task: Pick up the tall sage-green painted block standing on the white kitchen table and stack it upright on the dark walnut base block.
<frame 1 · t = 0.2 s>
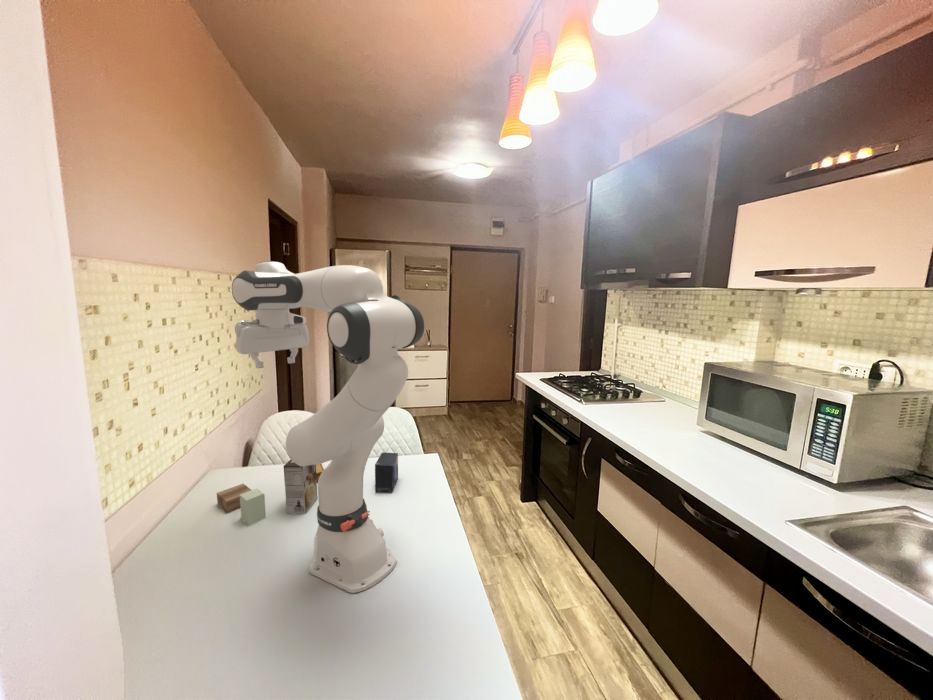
hand: (276, 365, 113), 47 cm above the table, fingers open, 8 cm apart
coffee box: (302, 506, 124), on the table
base block: (236, 503, 125), on the table
small box: (387, 486, 137), on the table
sage block: (253, 518, 117), on the table
carton: (310, 475, 145), on the table
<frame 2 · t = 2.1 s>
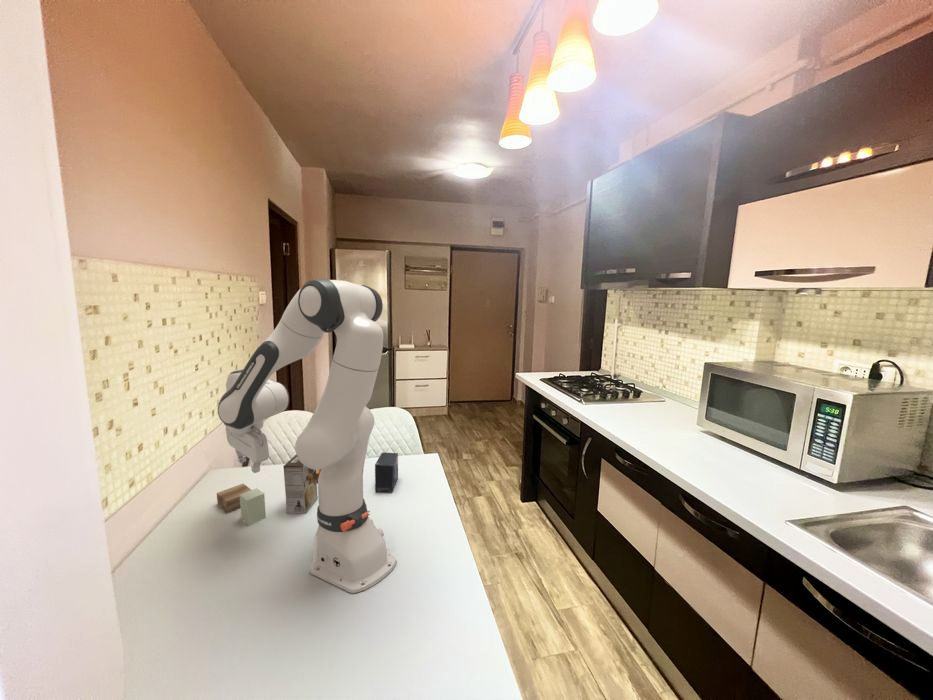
hand: (248, 466, 114), 17 cm above the table, fingers open, 8 cm apart
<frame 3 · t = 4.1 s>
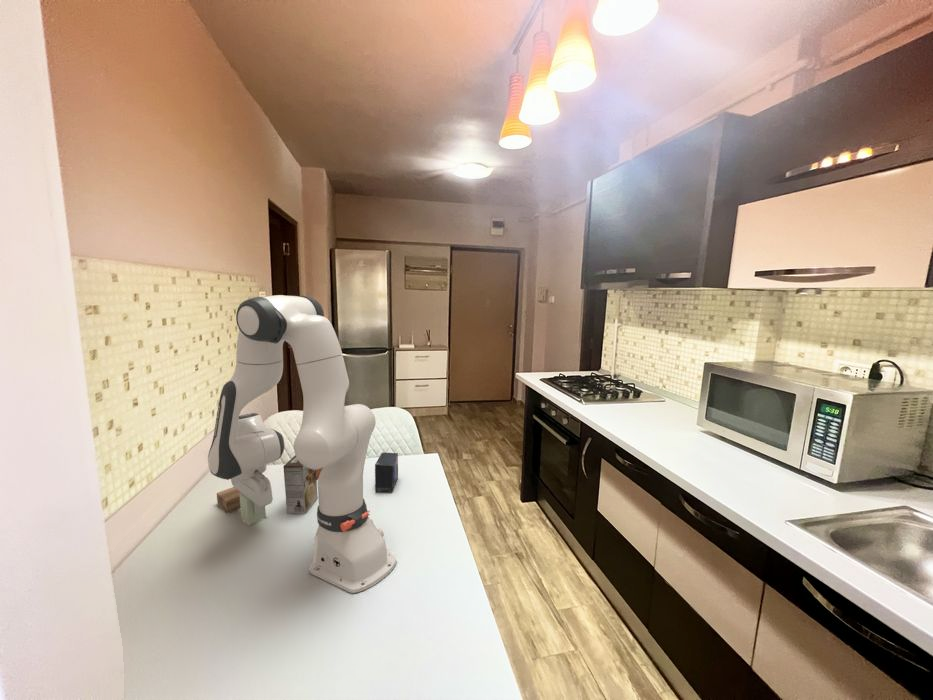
hand: (252, 508, 116), 3 cm above the table, fingers closed on sage block, 5 cm apart
sage block: (253, 518, 117), on the table, touching gripper
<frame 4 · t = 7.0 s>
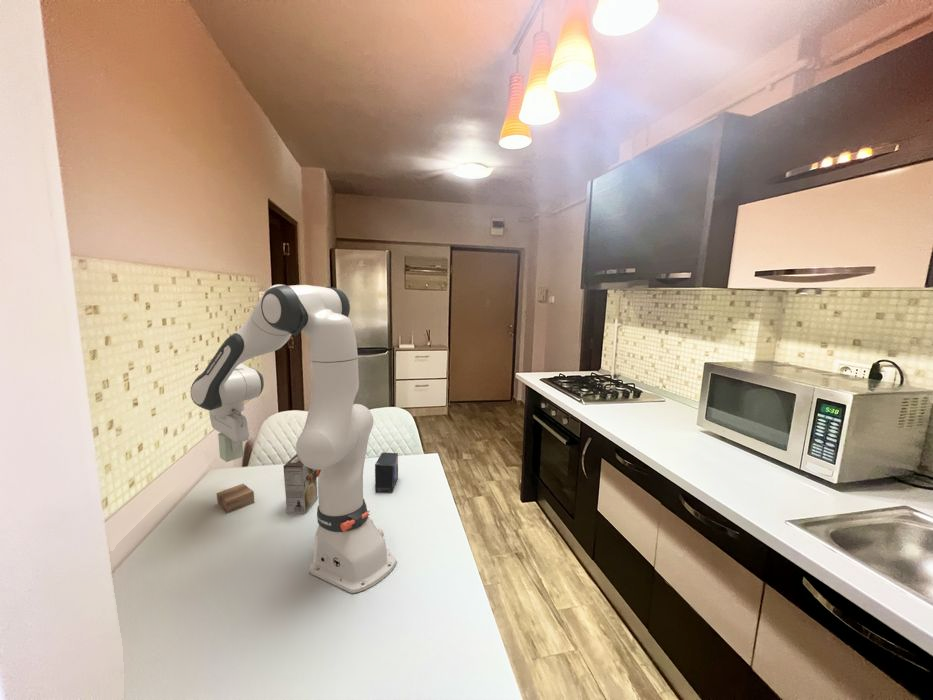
hand: (231, 448, 122), 19 cm above the table, fingers closed on sage block, 5 cm apart
sage block: (231, 457, 122), point 16 cm above the table, touching gripper
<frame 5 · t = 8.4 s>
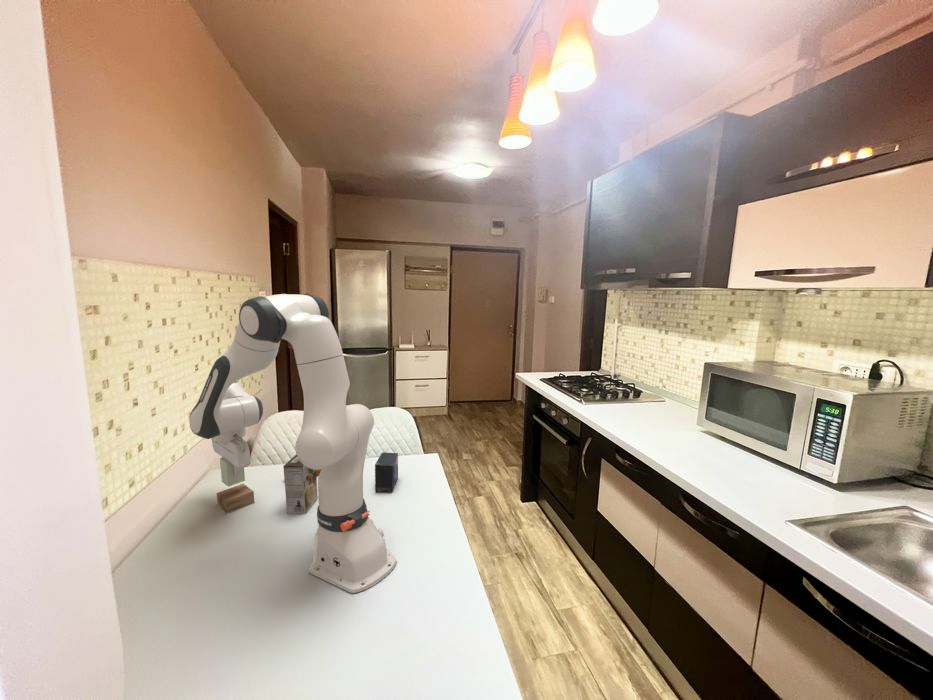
hand: (232, 472, 123), 11 cm above the table, fingers closed on sage block, 5 cm apart
sage block: (233, 481, 123), point 8 cm above the table, touching gripper
when the fingers open (8 cm above the table, at t = 9.8 s): sage block stays where it is, resting on base block.
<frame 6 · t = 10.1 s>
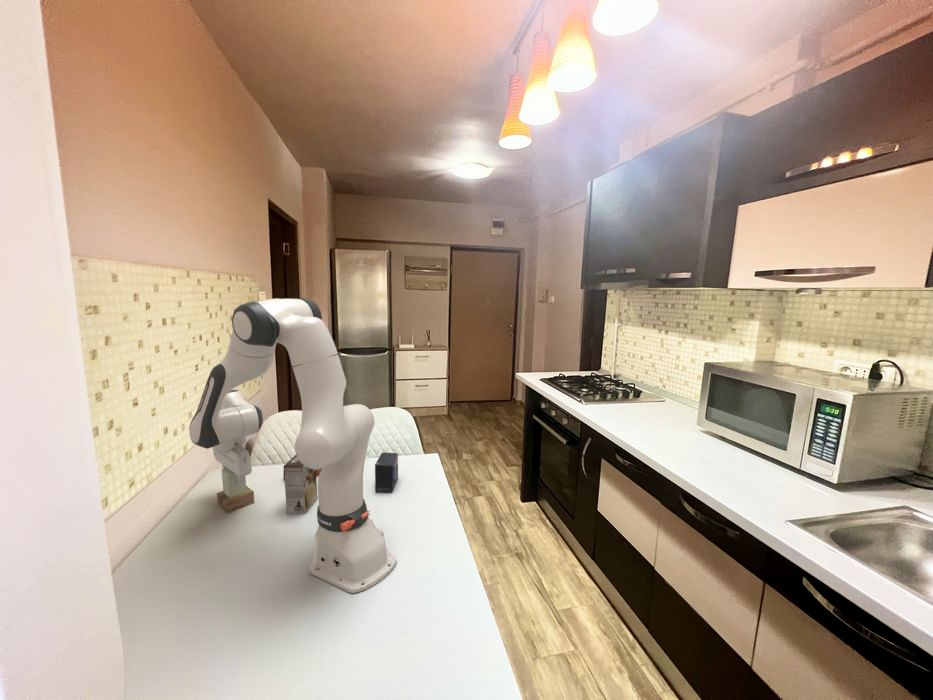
hand: (234, 480, 123), 8 cm above the table, fingers open, 8 cm apart
sage block: (235, 492, 124), point 4 cm above the table, touching base block
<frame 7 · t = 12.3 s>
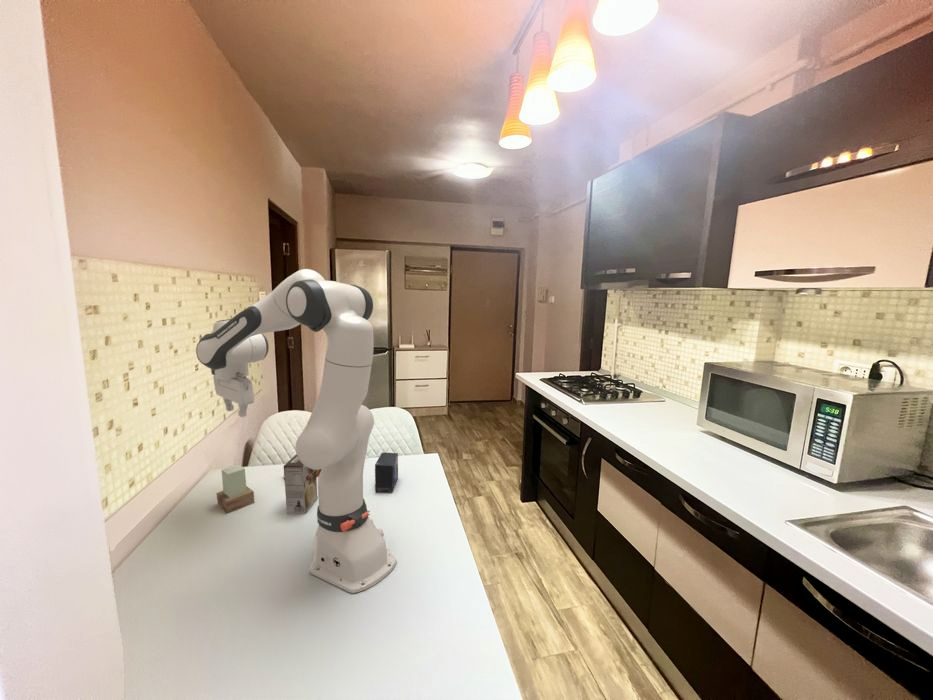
hand: (236, 413, 121), 30 cm above the table, fingers open, 8 cm apart
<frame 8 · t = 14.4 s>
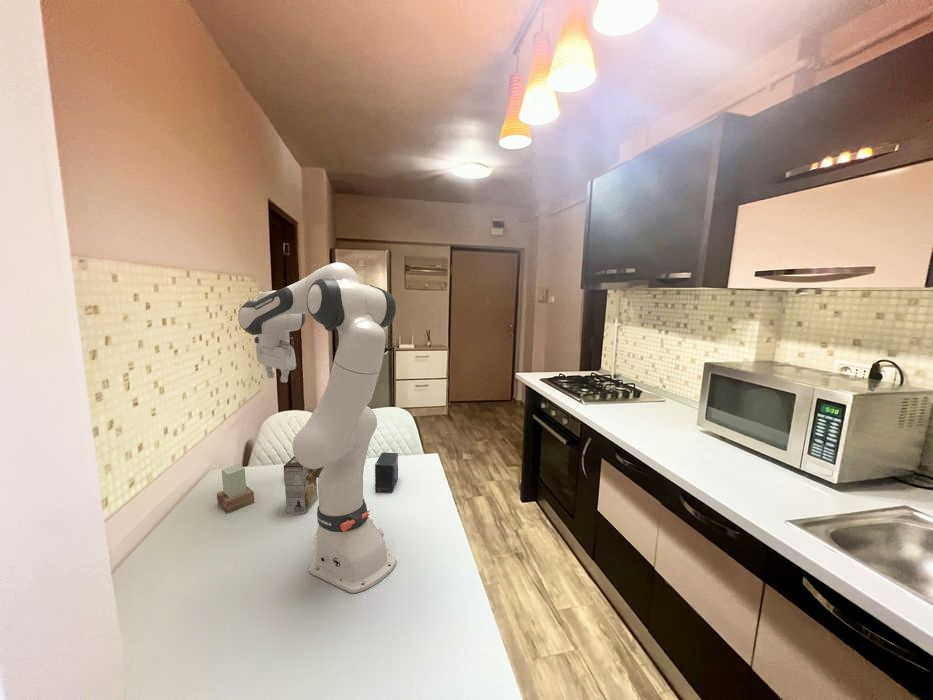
hand: (277, 379, 129), 39 cm above the table, fingers open, 8 cm apart
at the end: sage block 0.1 cm off-centre on the base block, point 4.0 cm above the base block's base; sage block tilted 0°; the gripper is holding nothing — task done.
